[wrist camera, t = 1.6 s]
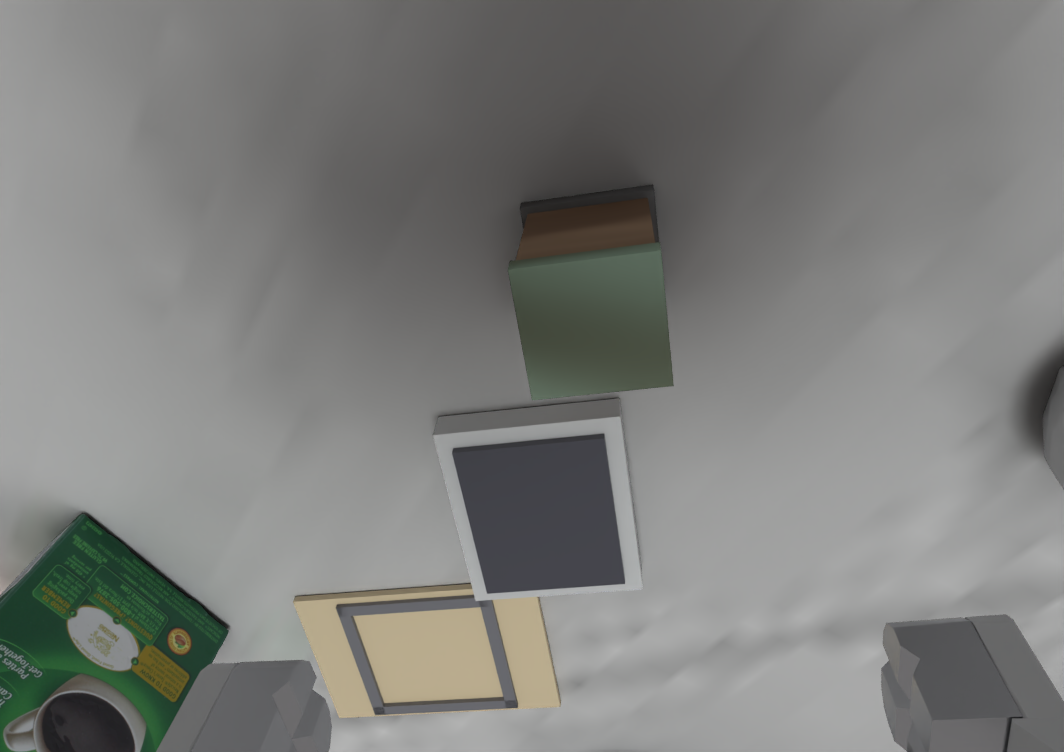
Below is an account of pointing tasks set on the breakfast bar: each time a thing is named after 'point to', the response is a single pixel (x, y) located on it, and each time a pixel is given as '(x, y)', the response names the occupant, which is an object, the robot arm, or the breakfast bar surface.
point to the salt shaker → (1055, 428)
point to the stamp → (592, 294)
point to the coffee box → (96, 648)
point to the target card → (429, 651)
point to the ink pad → (542, 499)
